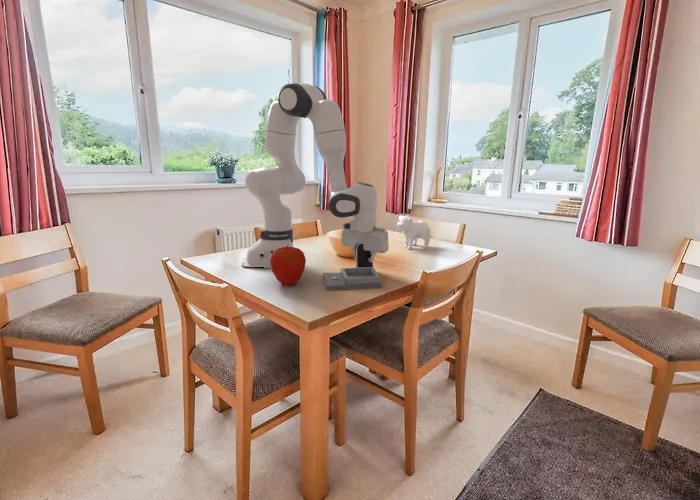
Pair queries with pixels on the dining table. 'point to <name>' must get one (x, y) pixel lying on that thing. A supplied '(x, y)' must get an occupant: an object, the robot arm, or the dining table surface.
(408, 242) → the white dog figurine
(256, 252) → the robot arm
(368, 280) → the charging dock
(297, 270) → the apple
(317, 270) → the dining table surface
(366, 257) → the battery
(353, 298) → the dining table surface
